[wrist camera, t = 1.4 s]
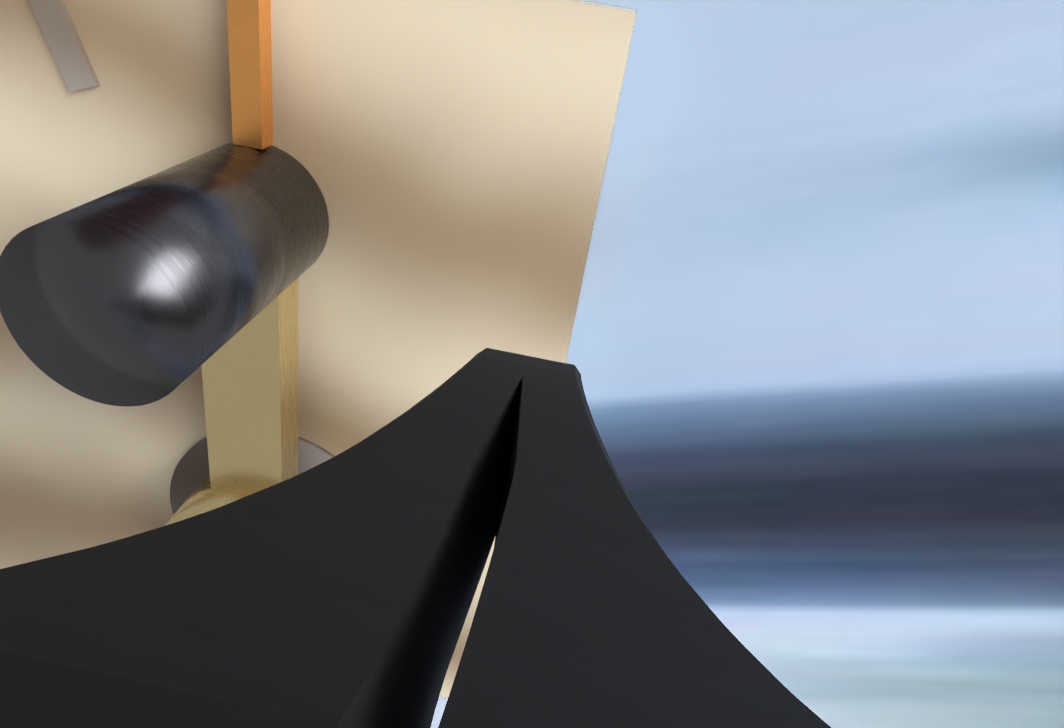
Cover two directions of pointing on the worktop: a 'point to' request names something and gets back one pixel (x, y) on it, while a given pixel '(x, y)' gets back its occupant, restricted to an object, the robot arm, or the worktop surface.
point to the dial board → (352, 202)
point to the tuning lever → (186, 285)
